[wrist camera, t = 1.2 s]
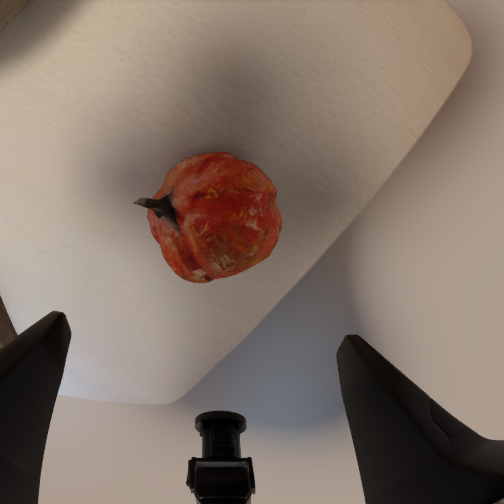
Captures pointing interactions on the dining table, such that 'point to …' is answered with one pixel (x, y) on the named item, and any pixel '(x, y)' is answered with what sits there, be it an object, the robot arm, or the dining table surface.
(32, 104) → the dining table surface
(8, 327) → the four compartment tray
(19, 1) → the bowl
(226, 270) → the red round fruit
